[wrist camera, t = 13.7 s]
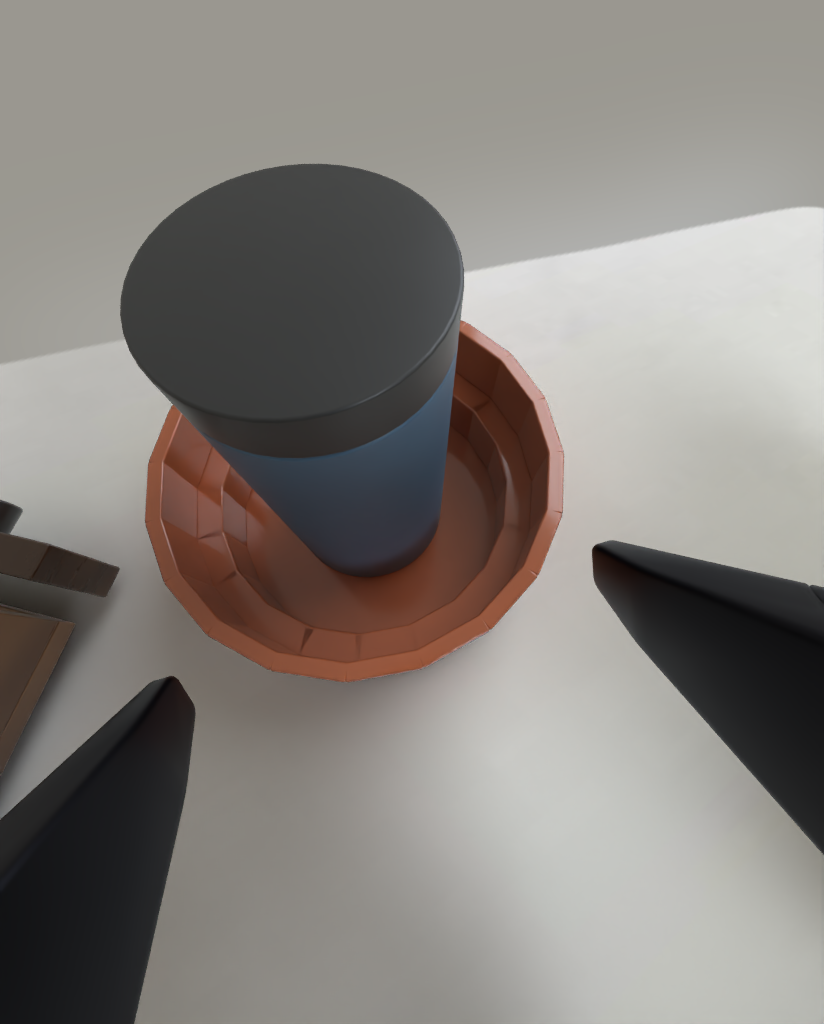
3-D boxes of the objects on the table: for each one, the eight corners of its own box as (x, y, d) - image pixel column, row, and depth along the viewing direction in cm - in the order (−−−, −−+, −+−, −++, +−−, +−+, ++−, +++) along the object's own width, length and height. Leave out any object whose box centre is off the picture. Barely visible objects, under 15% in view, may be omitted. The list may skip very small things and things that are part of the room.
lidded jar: (469, 504, 17) (536, 262, 7) (369, 608, 16) (269, 497, 6) (370, 422, 19) (306, 123, 9) (270, 511, 18) (52, 283, 7)
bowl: (533, 400, 20) (567, 316, 15) (517, 702, 15) (558, 716, 11) (264, 372, 21) (218, 285, 16) (176, 649, 16) (75, 640, 12)
